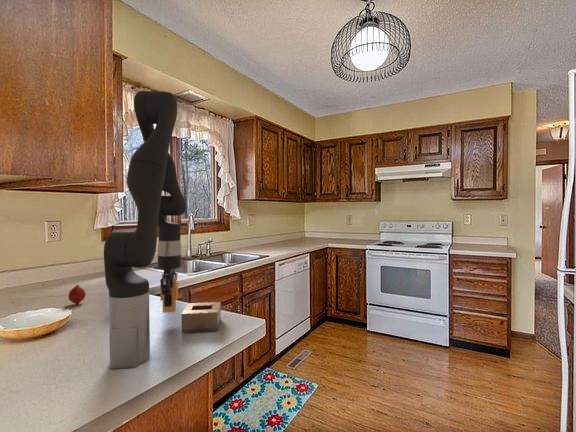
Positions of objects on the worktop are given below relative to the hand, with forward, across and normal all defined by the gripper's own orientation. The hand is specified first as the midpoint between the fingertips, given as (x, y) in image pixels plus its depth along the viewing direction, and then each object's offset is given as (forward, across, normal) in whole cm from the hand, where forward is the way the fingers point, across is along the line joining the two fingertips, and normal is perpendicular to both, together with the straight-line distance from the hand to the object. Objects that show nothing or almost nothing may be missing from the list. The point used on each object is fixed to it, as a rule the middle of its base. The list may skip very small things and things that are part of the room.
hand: (169, 304), depth 104 cm
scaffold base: (+7, -4, -11) cm, 14 cm away
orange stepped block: (+2, 0, 0) cm, 2 cm away
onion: (+6, +29, +43) cm, 53 cm away
